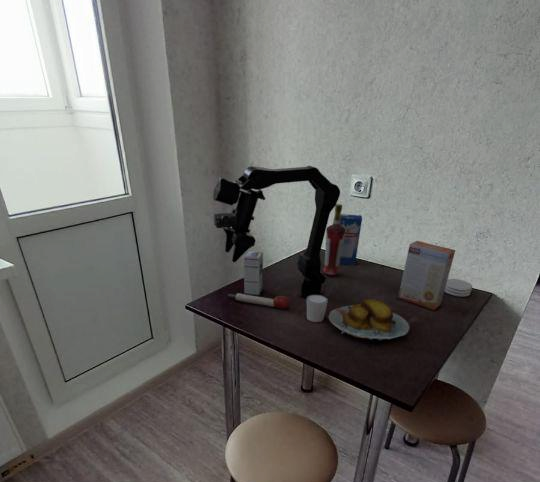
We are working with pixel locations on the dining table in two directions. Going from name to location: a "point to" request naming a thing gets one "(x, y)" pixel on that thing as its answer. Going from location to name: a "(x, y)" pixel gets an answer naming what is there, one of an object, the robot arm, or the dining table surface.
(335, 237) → the liquor
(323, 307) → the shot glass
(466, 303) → the dining table surface
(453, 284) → the coaster
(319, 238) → the robot arm
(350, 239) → the milk carton
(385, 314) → the food on plate
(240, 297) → the baster
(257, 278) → the syrup box
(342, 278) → the dining table surface
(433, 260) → the cracker box
